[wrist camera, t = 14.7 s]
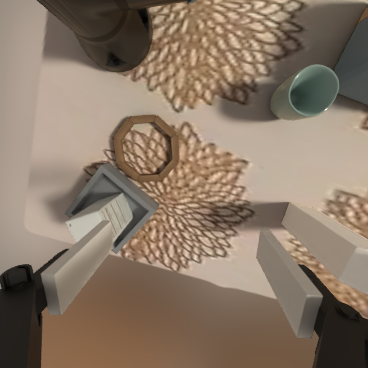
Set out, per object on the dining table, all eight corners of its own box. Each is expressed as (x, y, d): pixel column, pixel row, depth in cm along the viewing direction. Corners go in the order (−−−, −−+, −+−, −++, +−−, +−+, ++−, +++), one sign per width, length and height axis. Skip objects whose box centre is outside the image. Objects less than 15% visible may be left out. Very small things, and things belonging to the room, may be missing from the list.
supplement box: (109, 224, 48) (79, 254, 35) (98, 199, 46) (62, 221, 34) (135, 217, 47) (113, 245, 34) (124, 191, 45) (97, 210, 33)
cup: (258, 110, 39) (278, 101, 29) (280, 75, 37) (309, 53, 27) (287, 129, 40) (317, 125, 30) (311, 95, 38) (350, 80, 28)
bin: (75, 207, 48) (64, 213, 44) (109, 162, 44) (101, 164, 40) (122, 245, 50) (116, 254, 46) (159, 205, 46) (156, 211, 42)
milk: (280, 223, 45) (354, 299, 24) (289, 201, 43) (377, 261, 22) (304, 229, 45) (400, 310, 24) (314, 207, 43) (426, 273, 22)
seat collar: (105, 151, 44) (101, 152, 42) (142, 101, 40) (140, 100, 39) (152, 192, 45) (150, 193, 44) (192, 147, 42) (191, 147, 40)
